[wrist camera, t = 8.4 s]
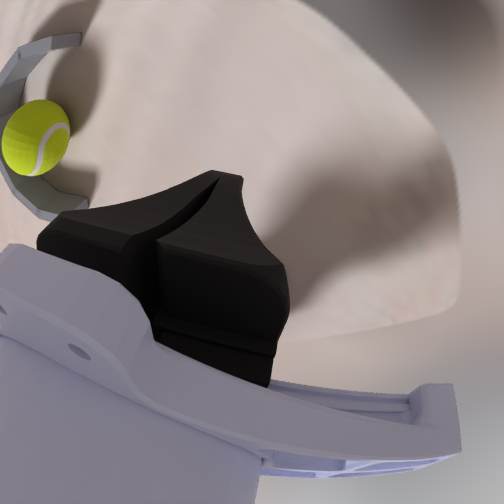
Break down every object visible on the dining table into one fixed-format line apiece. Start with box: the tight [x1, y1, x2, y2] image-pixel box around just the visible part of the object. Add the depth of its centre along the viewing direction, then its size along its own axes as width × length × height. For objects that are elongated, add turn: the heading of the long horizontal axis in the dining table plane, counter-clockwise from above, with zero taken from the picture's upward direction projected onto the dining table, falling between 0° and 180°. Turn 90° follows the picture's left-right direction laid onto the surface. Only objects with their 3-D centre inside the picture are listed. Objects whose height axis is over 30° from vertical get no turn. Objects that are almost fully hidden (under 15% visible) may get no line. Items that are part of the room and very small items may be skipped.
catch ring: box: [0, 33, 89, 222], centre depth 18 cm, size 17×11×4 cm, turn 171°
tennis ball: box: [2, 100, 70, 176], centre depth 17 cm, size 7×7×7 cm
